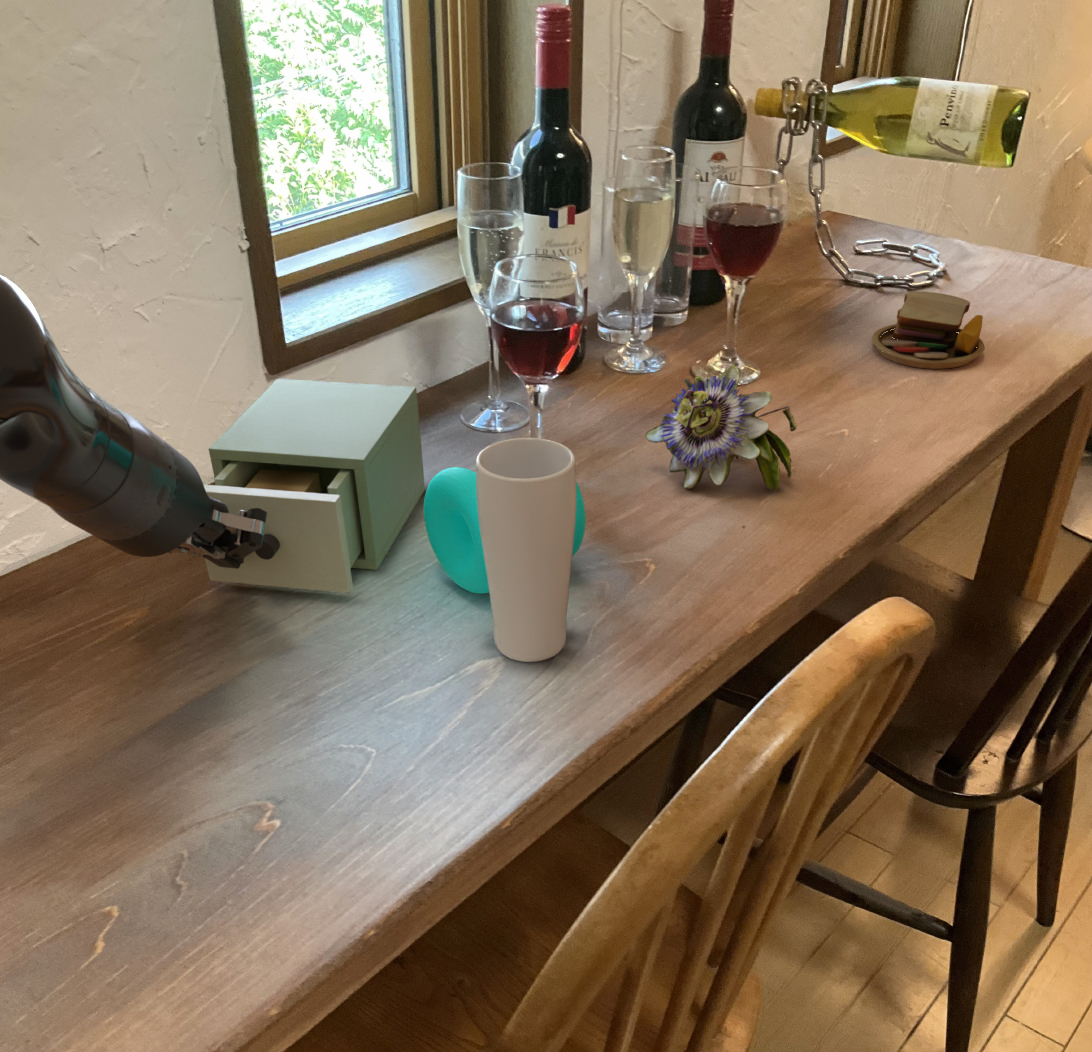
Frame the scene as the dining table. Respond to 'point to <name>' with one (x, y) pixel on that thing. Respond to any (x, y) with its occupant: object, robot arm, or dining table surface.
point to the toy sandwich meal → (931, 333)
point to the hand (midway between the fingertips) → (232, 555)
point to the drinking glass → (527, 542)
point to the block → (286, 481)
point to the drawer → (295, 529)
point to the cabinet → (339, 446)
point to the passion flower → (721, 431)
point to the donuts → (467, 527)
